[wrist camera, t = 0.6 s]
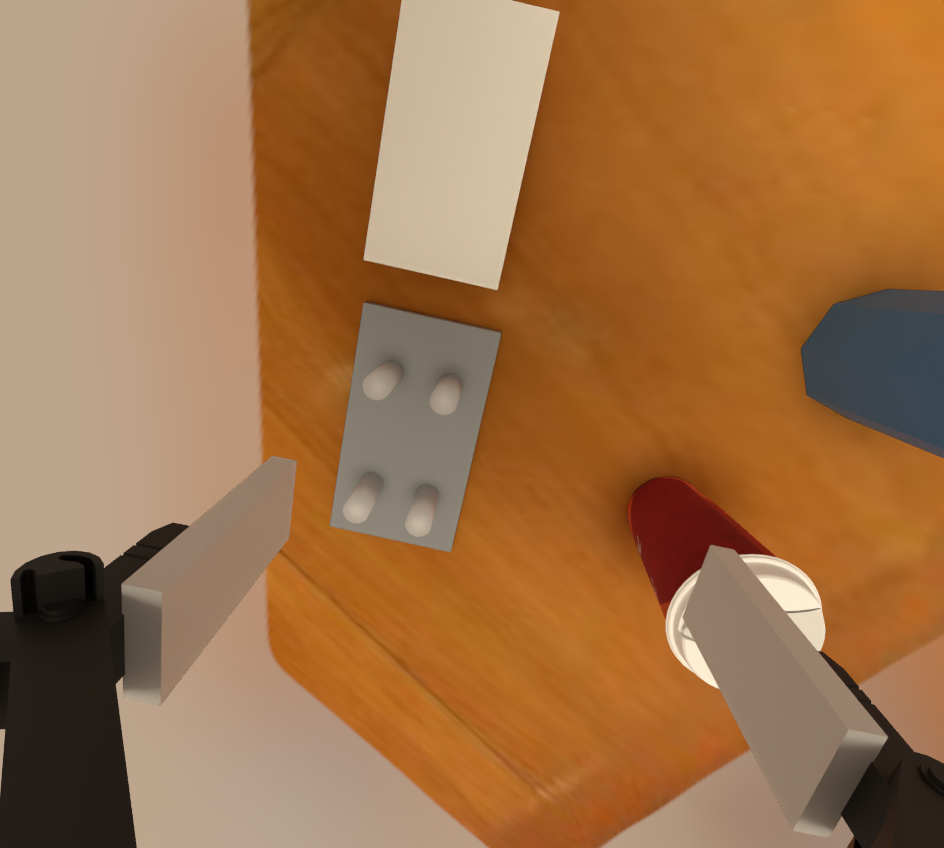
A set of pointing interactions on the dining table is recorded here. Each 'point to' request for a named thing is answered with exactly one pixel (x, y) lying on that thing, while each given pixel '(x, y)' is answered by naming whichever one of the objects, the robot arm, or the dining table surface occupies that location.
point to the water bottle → (883, 364)
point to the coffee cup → (683, 553)
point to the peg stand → (411, 425)
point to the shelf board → (457, 135)
